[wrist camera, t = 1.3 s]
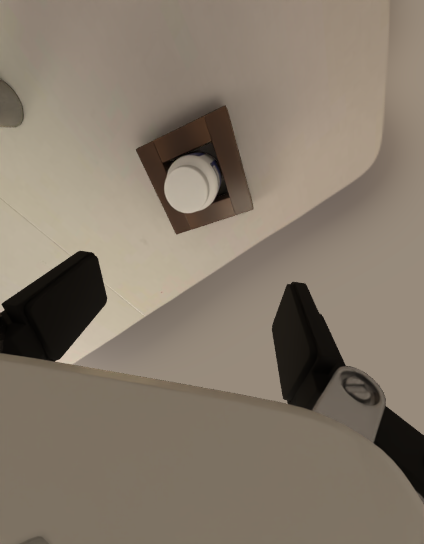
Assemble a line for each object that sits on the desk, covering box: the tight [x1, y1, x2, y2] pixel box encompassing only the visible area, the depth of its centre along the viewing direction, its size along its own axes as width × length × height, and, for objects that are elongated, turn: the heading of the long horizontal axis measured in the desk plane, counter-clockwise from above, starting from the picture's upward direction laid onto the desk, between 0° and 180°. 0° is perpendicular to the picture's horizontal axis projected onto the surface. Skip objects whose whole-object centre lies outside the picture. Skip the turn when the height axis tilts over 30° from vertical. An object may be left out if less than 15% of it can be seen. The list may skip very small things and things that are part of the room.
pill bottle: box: [164, 152, 222, 213], centre depth 22 cm, size 5×5×9 cm
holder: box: [136, 105, 253, 234], centre depth 25 cm, size 10×10×3 cm
